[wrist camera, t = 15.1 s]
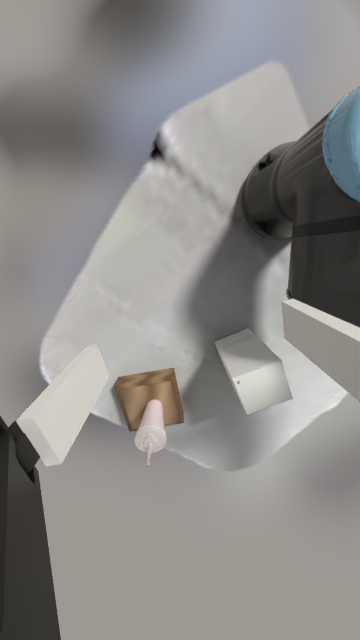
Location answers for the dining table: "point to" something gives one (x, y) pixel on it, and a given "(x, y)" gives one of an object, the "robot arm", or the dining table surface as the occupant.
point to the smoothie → (151, 430)
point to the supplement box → (253, 371)
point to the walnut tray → (149, 396)
